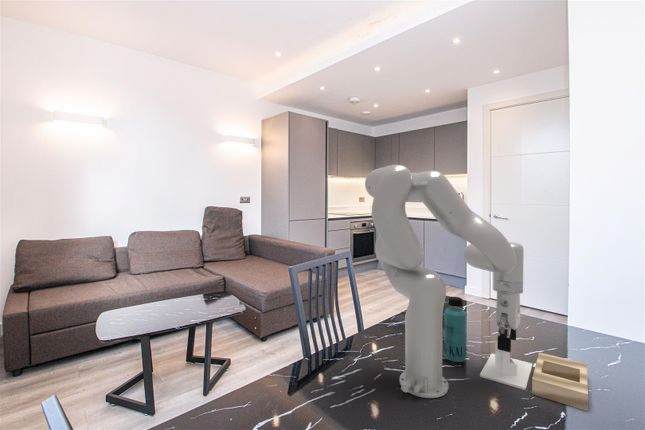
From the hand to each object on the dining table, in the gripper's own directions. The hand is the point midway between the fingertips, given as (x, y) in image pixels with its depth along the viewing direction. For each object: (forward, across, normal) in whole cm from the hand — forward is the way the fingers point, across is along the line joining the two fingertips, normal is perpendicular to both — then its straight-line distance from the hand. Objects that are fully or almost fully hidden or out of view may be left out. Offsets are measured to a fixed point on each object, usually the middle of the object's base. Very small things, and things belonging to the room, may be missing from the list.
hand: (507, 344), depth 94 cm
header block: (+8, 0, -12) cm, 15 cm away
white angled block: (+7, -1, 0) cm, 7 cm away
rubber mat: (+8, 0, 0) cm, 8 cm away
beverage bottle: (+8, -4, +14) cm, 16 cm away
